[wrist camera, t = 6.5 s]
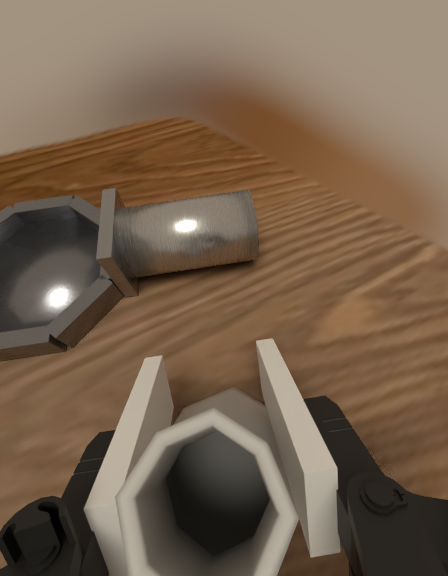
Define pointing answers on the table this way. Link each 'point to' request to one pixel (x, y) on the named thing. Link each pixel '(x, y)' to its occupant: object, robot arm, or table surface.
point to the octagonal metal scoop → (104, 258)
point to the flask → (209, 495)
